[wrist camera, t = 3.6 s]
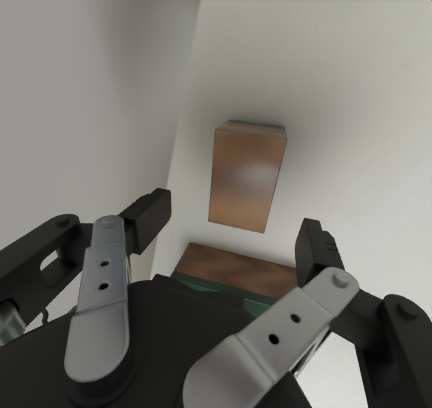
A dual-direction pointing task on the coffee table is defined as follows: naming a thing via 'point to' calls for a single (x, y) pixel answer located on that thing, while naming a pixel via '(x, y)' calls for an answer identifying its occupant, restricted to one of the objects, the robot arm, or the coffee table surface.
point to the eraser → (245, 173)
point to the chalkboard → (235, 276)
